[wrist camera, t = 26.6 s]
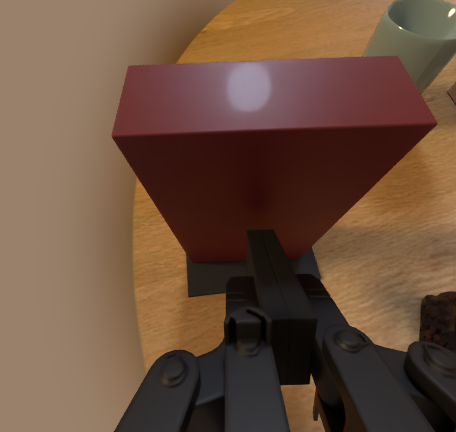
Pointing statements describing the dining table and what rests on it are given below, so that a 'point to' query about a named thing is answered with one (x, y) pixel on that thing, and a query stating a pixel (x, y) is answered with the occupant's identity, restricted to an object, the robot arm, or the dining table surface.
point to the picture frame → (453, 92)
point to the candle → (439, 320)
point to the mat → (235, 273)
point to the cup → (417, 37)
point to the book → (265, 144)
